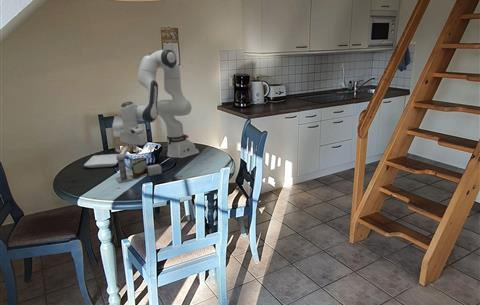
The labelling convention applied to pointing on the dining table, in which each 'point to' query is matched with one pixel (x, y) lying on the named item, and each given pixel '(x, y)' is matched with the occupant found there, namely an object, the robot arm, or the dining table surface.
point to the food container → (138, 167)
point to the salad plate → (102, 161)
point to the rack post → (123, 173)
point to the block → (153, 170)
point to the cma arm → (123, 152)
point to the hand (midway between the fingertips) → (133, 150)
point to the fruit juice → (117, 131)
